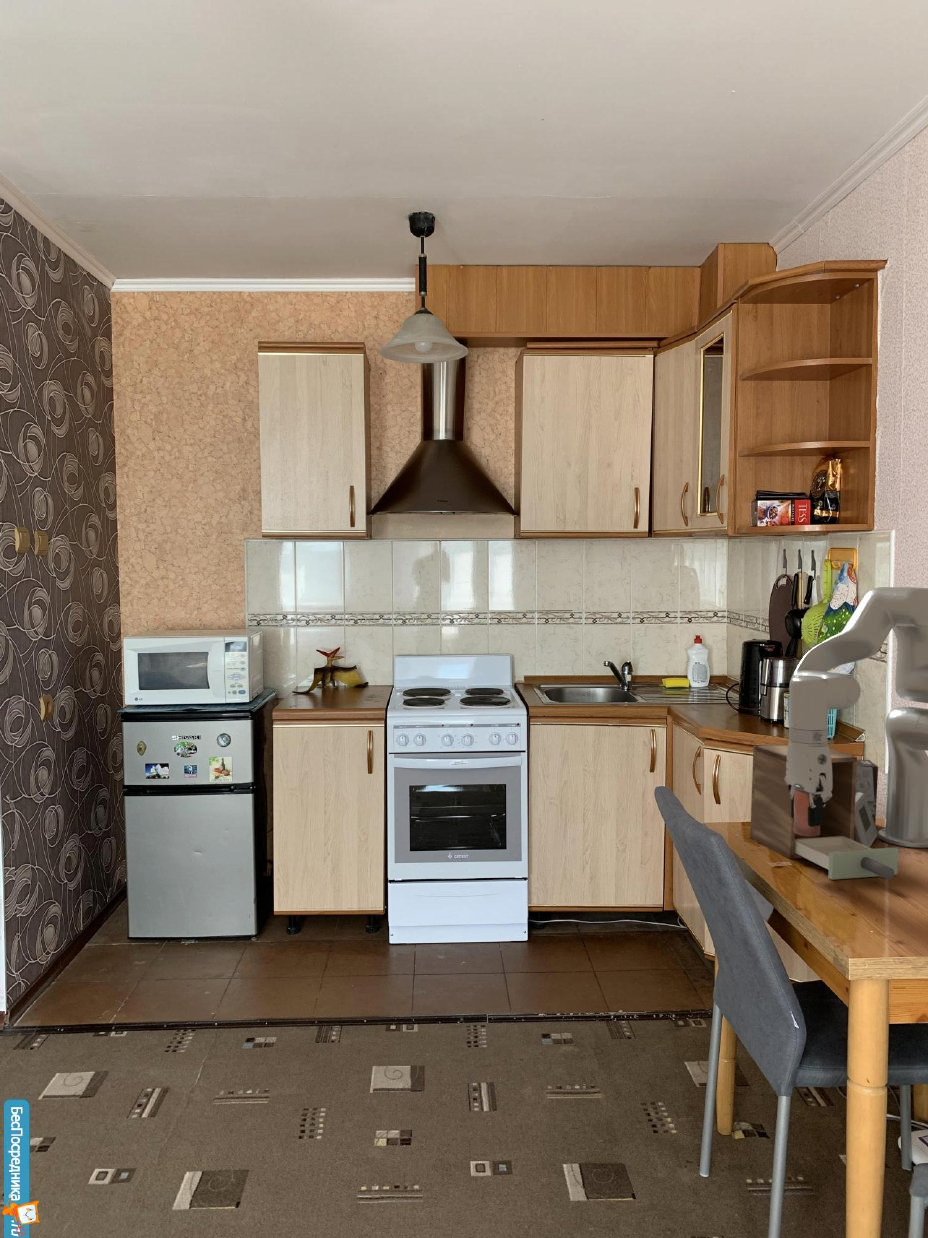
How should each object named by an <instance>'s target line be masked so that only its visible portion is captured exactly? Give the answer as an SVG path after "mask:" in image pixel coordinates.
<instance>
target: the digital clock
mask: <svg viewBox="0 0 928 1238" xmlns="http://www.w3.org/2000/svg"><path fill="white" fill-rule="evenodd" d="M877 837H878V829H877V827H876V824H875V823H874V820H873V818H872V815H871V812H870V809H869V806H868V803H867V800H866V797H865V795H864V794H863V793H861V792H858V793H856V797H855V821H854V841H856V842H858V843H860V844H863V845H865V846H867V847H869V848H871V846H872V844H873V843H874V842H875V839H876V838H877Z"/></svg>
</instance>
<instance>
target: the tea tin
mask: <svg viewBox="0 0 928 1238" xmlns="http://www.w3.org/2000/svg"><path fill="white" fill-rule="evenodd" d="M816 792H819V789H816ZM814 796H815V800H816V799H817V798H818V795H814ZM808 807H811V806H810V800H809V794H808V792H806V791H804V788H802V787H800V786H798V785H795V784H794V829H793V832H794V833H795V834H798V835H801V836H818V835H820V826H813V827H810V826H809V825H808Z"/></svg>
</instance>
